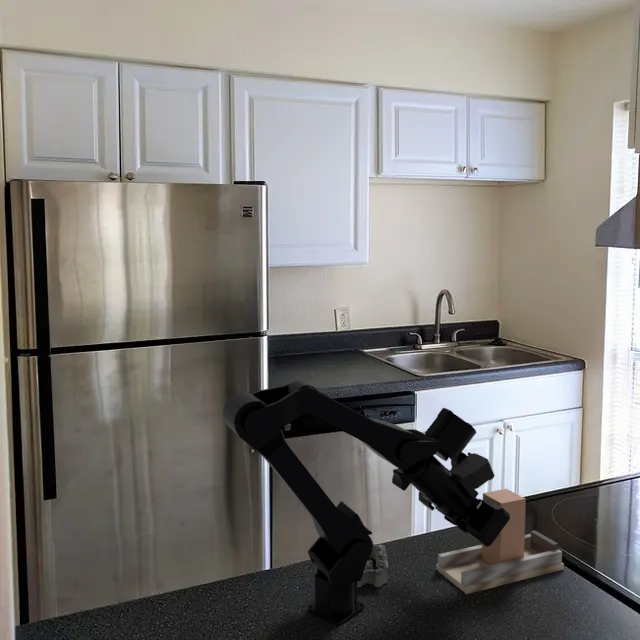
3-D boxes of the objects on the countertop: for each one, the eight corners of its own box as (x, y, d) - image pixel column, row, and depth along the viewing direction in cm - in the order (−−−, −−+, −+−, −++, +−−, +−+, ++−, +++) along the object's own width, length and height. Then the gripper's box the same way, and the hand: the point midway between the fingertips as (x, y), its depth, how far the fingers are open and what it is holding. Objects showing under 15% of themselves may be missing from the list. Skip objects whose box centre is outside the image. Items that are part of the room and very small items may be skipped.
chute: (466, 594, 107) (466, 570, 106) (436, 569, 115) (436, 547, 114) (563, 569, 114) (564, 547, 114) (528, 547, 123) (529, 527, 122)
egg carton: (342, 559, 120) (342, 537, 119) (384, 559, 120) (384, 537, 119) (343, 589, 109) (343, 565, 109) (389, 589, 109) (389, 565, 108)
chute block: (499, 572, 111) (501, 503, 110) (481, 559, 116) (482, 493, 115) (523, 566, 113) (525, 498, 112) (504, 553, 118) (506, 488, 117)
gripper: (500, 459, 100) (556, 516, 106) (433, 428, 117) (484, 478, 123) (456, 518, 98) (515, 573, 104) (394, 478, 115) (447, 527, 121)
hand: (489, 533), depth 113 cm, fingers closed, pressing on chute block
